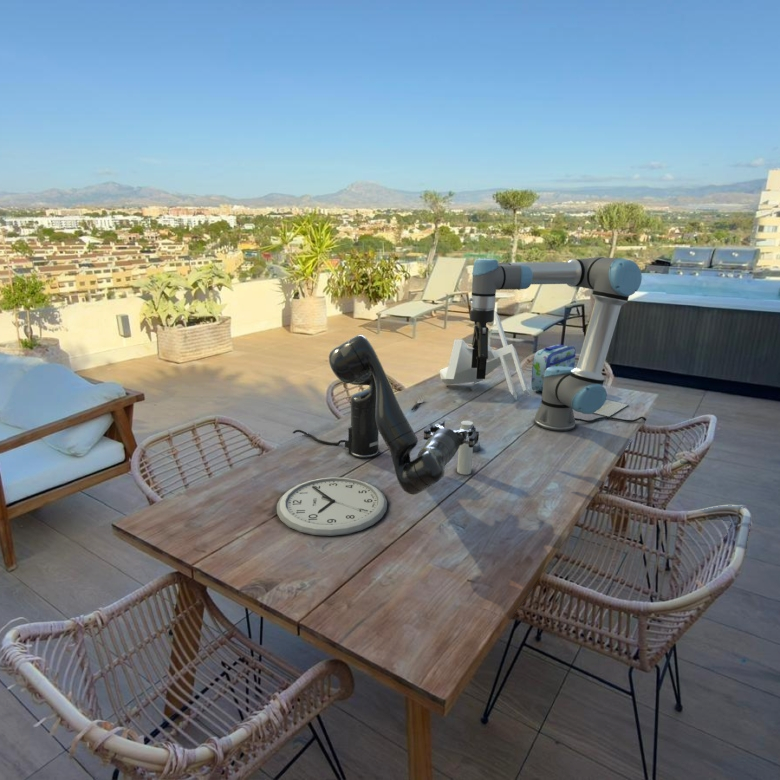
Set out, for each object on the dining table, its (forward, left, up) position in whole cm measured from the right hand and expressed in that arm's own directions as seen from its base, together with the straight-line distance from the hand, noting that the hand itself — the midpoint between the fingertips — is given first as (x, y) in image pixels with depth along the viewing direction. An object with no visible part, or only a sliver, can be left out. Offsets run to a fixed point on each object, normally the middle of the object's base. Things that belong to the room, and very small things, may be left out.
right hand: (477, 373), depth 173 cm
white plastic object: (-5, -66, -27) cm, 72 cm away
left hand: (+6, +30, -8) cm, 31 cm away
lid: (0, 0, -25) cm, 25 cm away
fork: (+22, -42, -27) cm, 55 cm away
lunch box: (-40, -77, -27) cm, 91 cm away
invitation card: (-57, -54, -27) cm, 83 cm away
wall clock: (+39, +45, -27) cm, 66 cm away
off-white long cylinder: (+3, +18, -27) cm, 33 cm away
